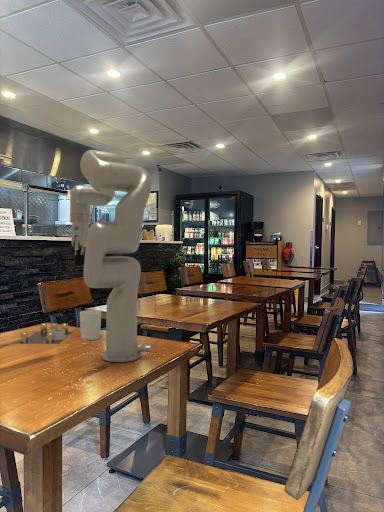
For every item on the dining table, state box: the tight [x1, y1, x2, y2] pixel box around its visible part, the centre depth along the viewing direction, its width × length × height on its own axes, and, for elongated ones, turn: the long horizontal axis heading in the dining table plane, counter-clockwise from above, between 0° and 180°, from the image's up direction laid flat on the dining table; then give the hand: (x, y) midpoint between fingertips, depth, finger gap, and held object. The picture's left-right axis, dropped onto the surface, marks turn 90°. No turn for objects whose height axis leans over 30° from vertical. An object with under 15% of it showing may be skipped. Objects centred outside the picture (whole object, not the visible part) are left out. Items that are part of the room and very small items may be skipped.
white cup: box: [79, 309, 102, 341], centre depth 139 cm, size 8×8×10 cm
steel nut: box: [48, 328, 65, 339], centre depth 137 cm, size 5×6×2 cm
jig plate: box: [18, 322, 74, 345], centre depth 137 cm, size 14×18×4 cm
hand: (79, 264), depth 149 cm, fingers closed
